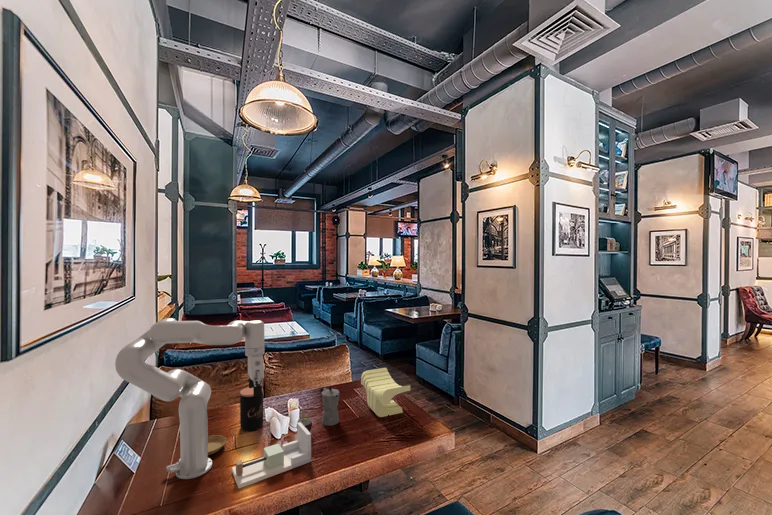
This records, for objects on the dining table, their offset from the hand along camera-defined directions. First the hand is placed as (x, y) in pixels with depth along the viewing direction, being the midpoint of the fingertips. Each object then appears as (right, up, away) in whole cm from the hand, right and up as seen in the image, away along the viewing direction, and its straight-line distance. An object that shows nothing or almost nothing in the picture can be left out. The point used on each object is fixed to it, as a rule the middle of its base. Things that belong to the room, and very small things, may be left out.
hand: (255, 391), depth 141 cm
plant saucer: (-24, -28, +6) cm, 37 cm away
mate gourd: (+16, -28, +17) cm, 37 cm away
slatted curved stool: (+54, -28, +44) cm, 75 cm away
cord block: (+5, -27, -8) cm, 28 cm away
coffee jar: (-12, -28, +27) cm, 41 cm away
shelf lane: (+9, -28, -5) cm, 30 cm away
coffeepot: (+26, -28, +32) cm, 50 cm away
